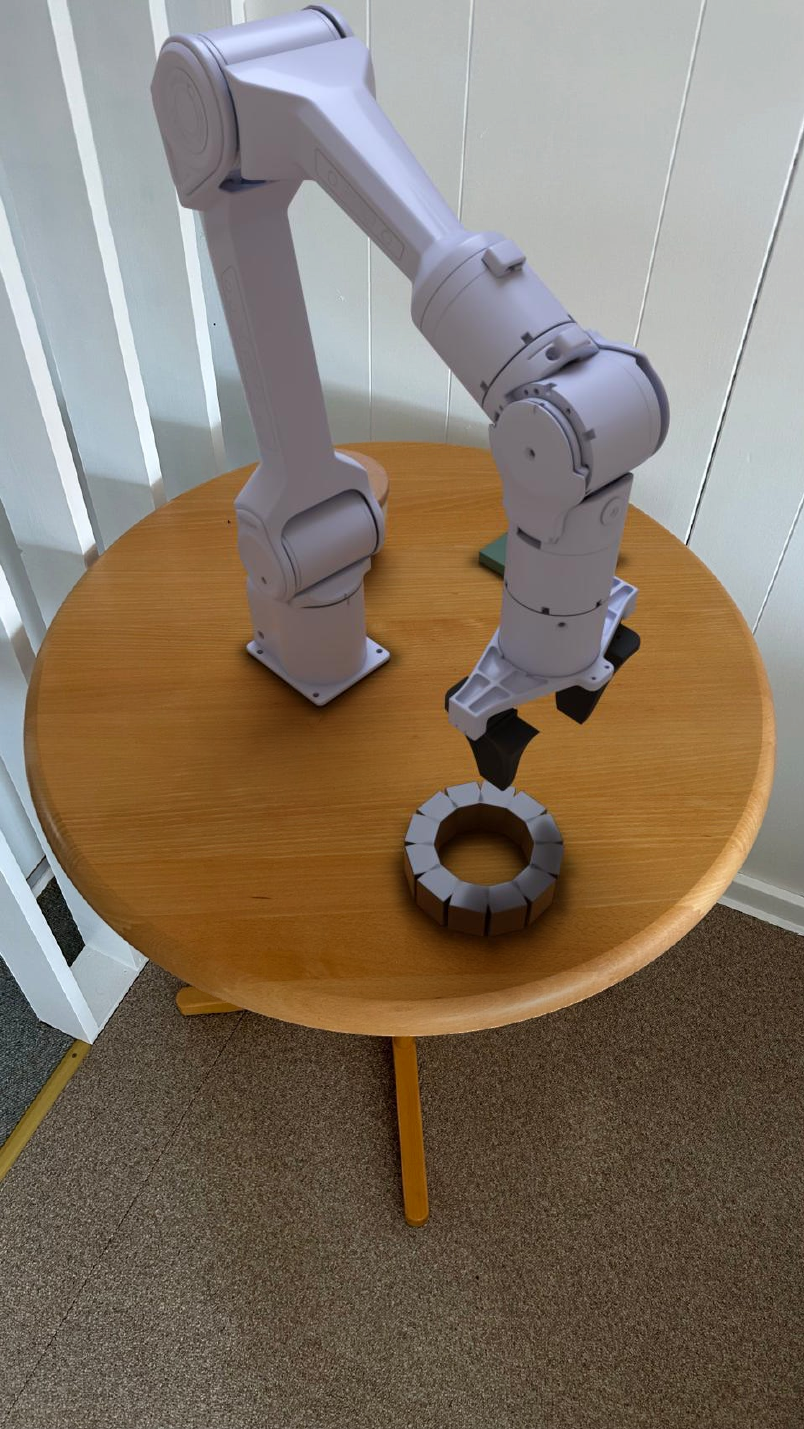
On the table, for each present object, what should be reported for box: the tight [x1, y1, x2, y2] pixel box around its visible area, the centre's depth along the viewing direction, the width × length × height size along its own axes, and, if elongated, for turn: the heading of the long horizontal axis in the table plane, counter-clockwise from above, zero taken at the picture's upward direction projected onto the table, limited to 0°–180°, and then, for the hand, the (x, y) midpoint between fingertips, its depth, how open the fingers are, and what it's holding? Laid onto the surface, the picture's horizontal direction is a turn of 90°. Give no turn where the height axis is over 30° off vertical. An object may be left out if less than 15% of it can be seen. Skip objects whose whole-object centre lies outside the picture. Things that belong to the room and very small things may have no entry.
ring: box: [403, 780, 565, 938], centre depth 65 cm, size 10×10×3 cm
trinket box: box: [334, 448, 390, 526], centre depth 86 cm, size 11×11×9 cm
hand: (534, 746), depth 61 cm, fingers open, 7 cm apart
